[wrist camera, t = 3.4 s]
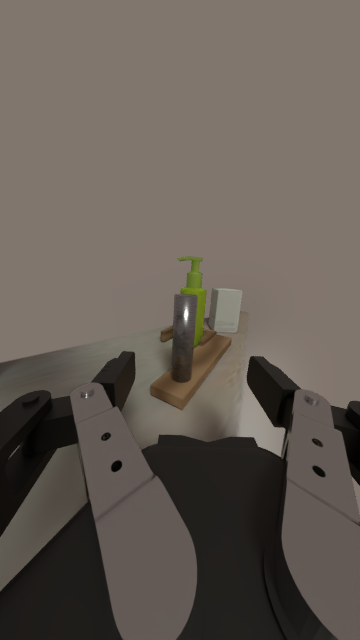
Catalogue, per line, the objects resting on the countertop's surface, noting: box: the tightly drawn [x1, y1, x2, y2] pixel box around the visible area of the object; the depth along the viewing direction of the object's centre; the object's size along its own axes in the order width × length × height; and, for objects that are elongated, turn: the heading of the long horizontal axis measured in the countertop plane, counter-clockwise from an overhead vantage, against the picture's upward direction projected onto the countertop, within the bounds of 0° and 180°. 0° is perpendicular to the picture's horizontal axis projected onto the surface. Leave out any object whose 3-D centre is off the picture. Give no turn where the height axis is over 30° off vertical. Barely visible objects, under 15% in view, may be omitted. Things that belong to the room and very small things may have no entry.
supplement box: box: [209, 288, 243, 333], centre depth 52 cm, size 7×7×13 cm
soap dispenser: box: [178, 257, 206, 347], centre depth 39 cm, size 6×7×20 cm
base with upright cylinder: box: [151, 294, 232, 410], centre depth 33 cm, size 15×25×14 cm, turn 150°
